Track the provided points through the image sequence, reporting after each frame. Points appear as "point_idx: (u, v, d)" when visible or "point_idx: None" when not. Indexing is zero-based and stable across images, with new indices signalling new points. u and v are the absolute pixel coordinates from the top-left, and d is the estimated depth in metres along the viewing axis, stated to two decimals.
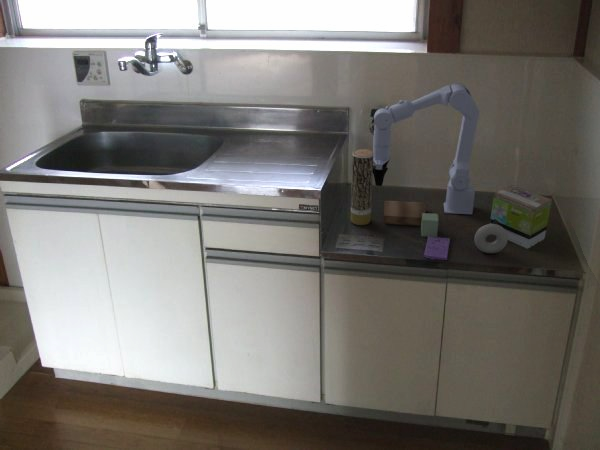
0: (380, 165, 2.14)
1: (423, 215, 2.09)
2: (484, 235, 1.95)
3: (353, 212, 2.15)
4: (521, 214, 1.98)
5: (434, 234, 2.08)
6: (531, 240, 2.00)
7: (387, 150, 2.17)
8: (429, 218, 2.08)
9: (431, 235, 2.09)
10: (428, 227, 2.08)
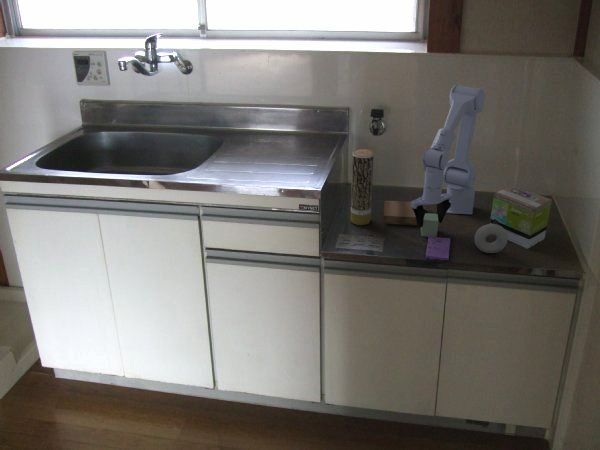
0: (413, 203, 2.02)
1: None
2: (484, 235, 1.95)
3: (353, 212, 2.15)
4: (521, 214, 1.98)
5: (434, 234, 2.08)
6: (531, 240, 2.00)
7: (432, 193, 2.01)
8: (429, 218, 2.08)
9: (431, 235, 2.09)
10: (428, 227, 2.08)
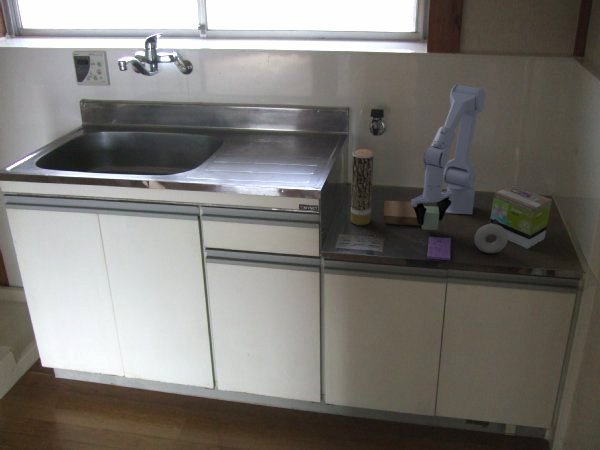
0: (413, 202, 2.02)
1: None
2: (484, 235, 1.95)
3: (353, 212, 2.15)
4: (521, 214, 1.98)
5: (435, 227, 2.07)
6: (531, 240, 2.00)
7: (432, 191, 2.01)
8: (429, 210, 2.07)
9: (432, 228, 2.08)
10: (429, 220, 2.06)
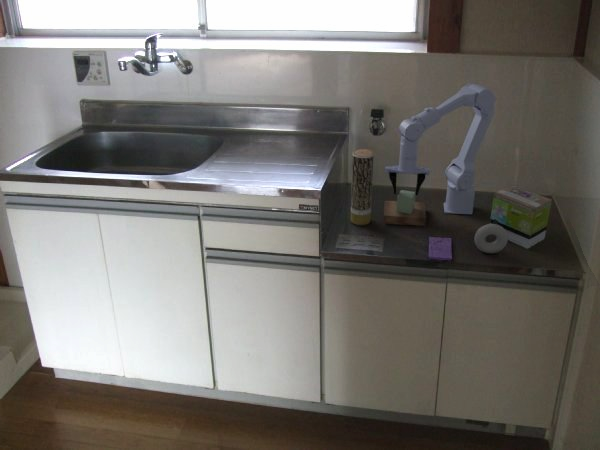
0: None
1: (400, 192, 2.18)
2: (484, 235, 1.95)
3: (353, 212, 2.15)
4: (521, 214, 1.98)
5: (408, 211, 2.17)
6: (531, 240, 2.00)
7: (402, 162, 2.10)
8: (404, 194, 2.16)
9: (405, 211, 2.17)
10: (403, 204, 2.16)
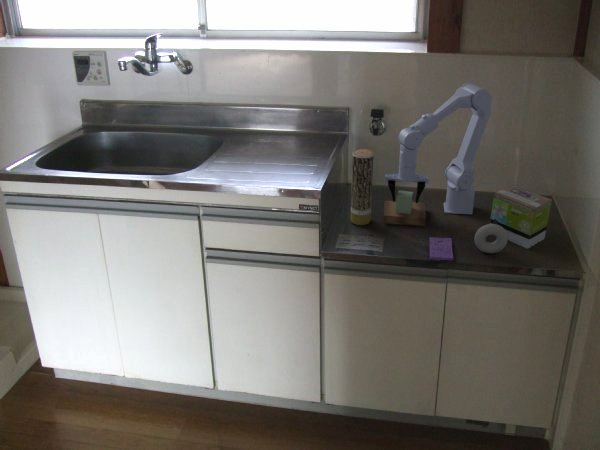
0: (385, 177, 2.15)
1: (399, 192, 2.18)
2: (484, 235, 1.95)
3: (353, 212, 2.15)
4: (521, 214, 1.98)
5: (408, 211, 2.17)
6: (531, 240, 2.00)
7: (402, 170, 2.12)
8: (403, 195, 2.16)
9: (405, 212, 2.17)
10: (402, 204, 2.16)
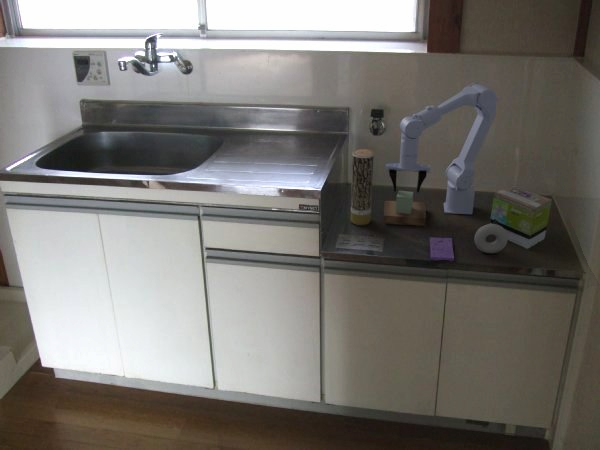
0: (386, 166, 2.15)
1: (399, 192, 2.18)
2: (484, 235, 1.95)
3: (353, 212, 2.15)
4: (521, 214, 1.98)
5: (408, 211, 2.17)
6: (531, 240, 2.00)
7: (403, 159, 2.11)
8: (403, 195, 2.16)
9: (405, 212, 2.17)
10: (402, 204, 2.16)
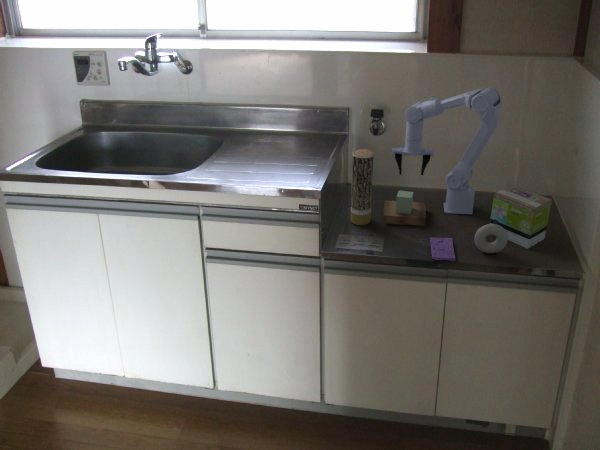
0: (392, 150, 2.28)
1: (399, 192, 2.18)
2: (484, 235, 1.95)
3: (353, 212, 2.15)
4: (521, 214, 1.98)
5: (408, 211, 2.17)
6: (531, 240, 2.00)
7: (408, 143, 2.24)
8: (403, 195, 2.16)
9: (405, 212, 2.17)
10: (402, 204, 2.16)
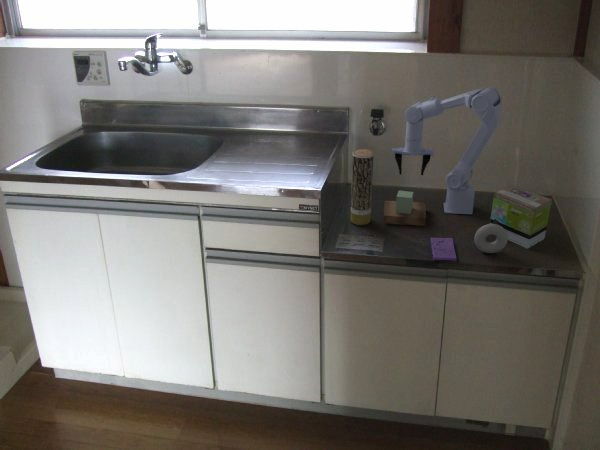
0: (392, 150, 2.28)
1: (399, 192, 2.18)
2: (484, 235, 1.95)
3: (353, 212, 2.15)
4: (521, 214, 1.98)
5: (408, 211, 2.17)
6: (531, 240, 2.00)
7: (408, 143, 2.24)
8: (403, 195, 2.16)
9: (405, 212, 2.17)
10: (402, 204, 2.16)
